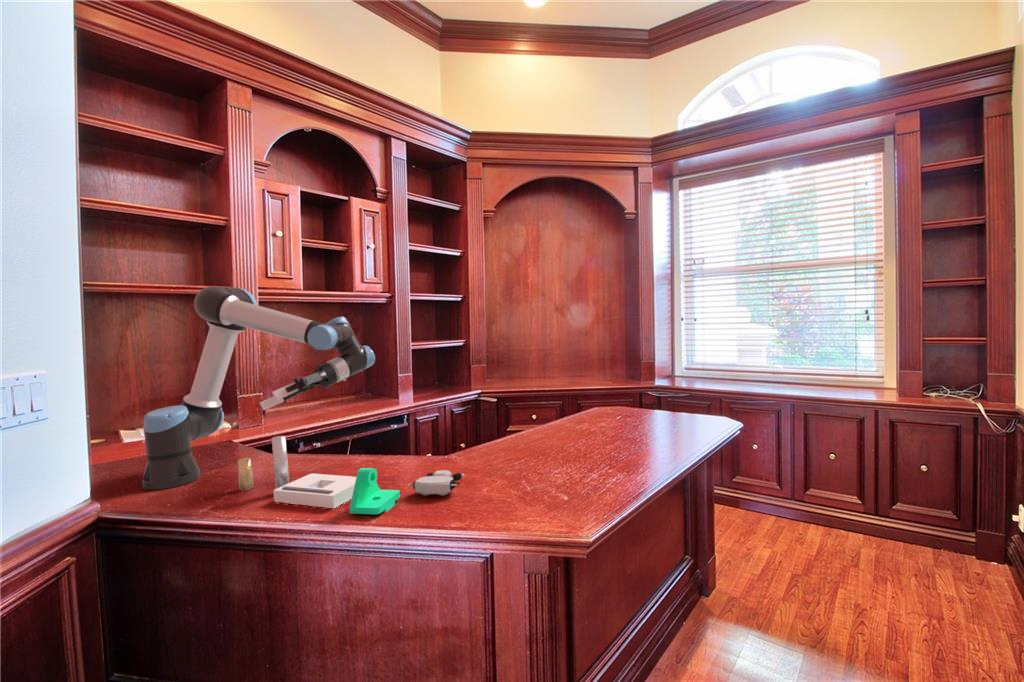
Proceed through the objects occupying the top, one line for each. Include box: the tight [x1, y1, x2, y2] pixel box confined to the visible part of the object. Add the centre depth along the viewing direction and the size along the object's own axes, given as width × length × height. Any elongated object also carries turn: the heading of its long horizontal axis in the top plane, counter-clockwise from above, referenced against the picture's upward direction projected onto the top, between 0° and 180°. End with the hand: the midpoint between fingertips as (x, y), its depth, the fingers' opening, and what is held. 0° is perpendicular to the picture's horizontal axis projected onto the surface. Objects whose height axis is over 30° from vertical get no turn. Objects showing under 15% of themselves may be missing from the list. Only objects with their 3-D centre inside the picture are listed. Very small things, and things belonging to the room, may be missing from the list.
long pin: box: [271, 435, 290, 489], centre depth 139 cm, size 4×4×16 cm
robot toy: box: [407, 469, 465, 497], centre depth 134 cm, size 12×4×15 cm
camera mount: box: [349, 467, 401, 515], centre depth 124 cm, size 12×8×10 cm, turn 166°
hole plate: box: [272, 472, 357, 510], centre depth 134 cm, size 20×14×4 cm
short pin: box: [236, 456, 255, 491], centre depth 144 cm, size 4×4×9 cm
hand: (267, 401), depth 143 cm, fingers open, 13 cm apart
